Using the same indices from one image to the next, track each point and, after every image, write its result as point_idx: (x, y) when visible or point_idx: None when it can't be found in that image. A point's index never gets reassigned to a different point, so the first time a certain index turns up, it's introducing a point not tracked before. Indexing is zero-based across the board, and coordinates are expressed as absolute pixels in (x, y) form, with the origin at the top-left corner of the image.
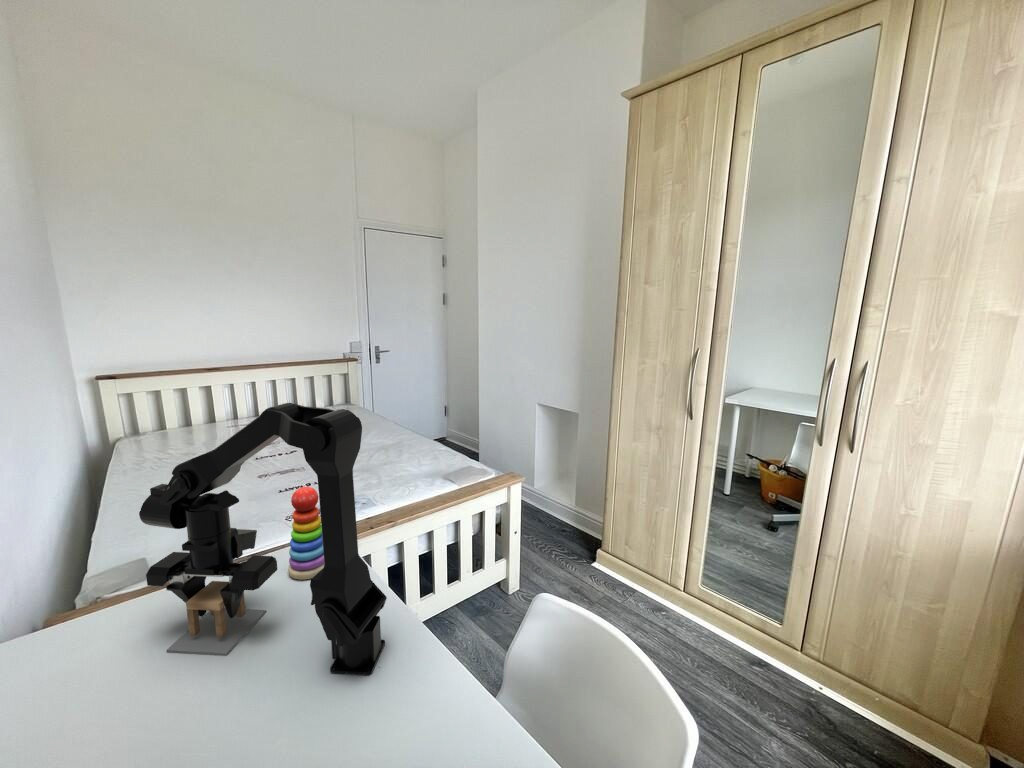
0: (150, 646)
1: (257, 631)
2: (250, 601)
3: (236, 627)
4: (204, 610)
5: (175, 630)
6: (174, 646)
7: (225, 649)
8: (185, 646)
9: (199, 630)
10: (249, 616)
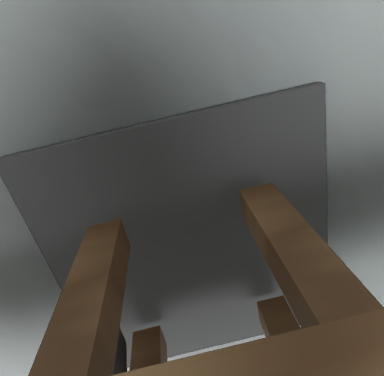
0: (18, 368)
1: (358, 201)
2: (143, 24)
3: None
4: (117, 350)
5: (2, 302)
6: None
7: None
8: None
9: (160, 332)
10: (267, 154)
